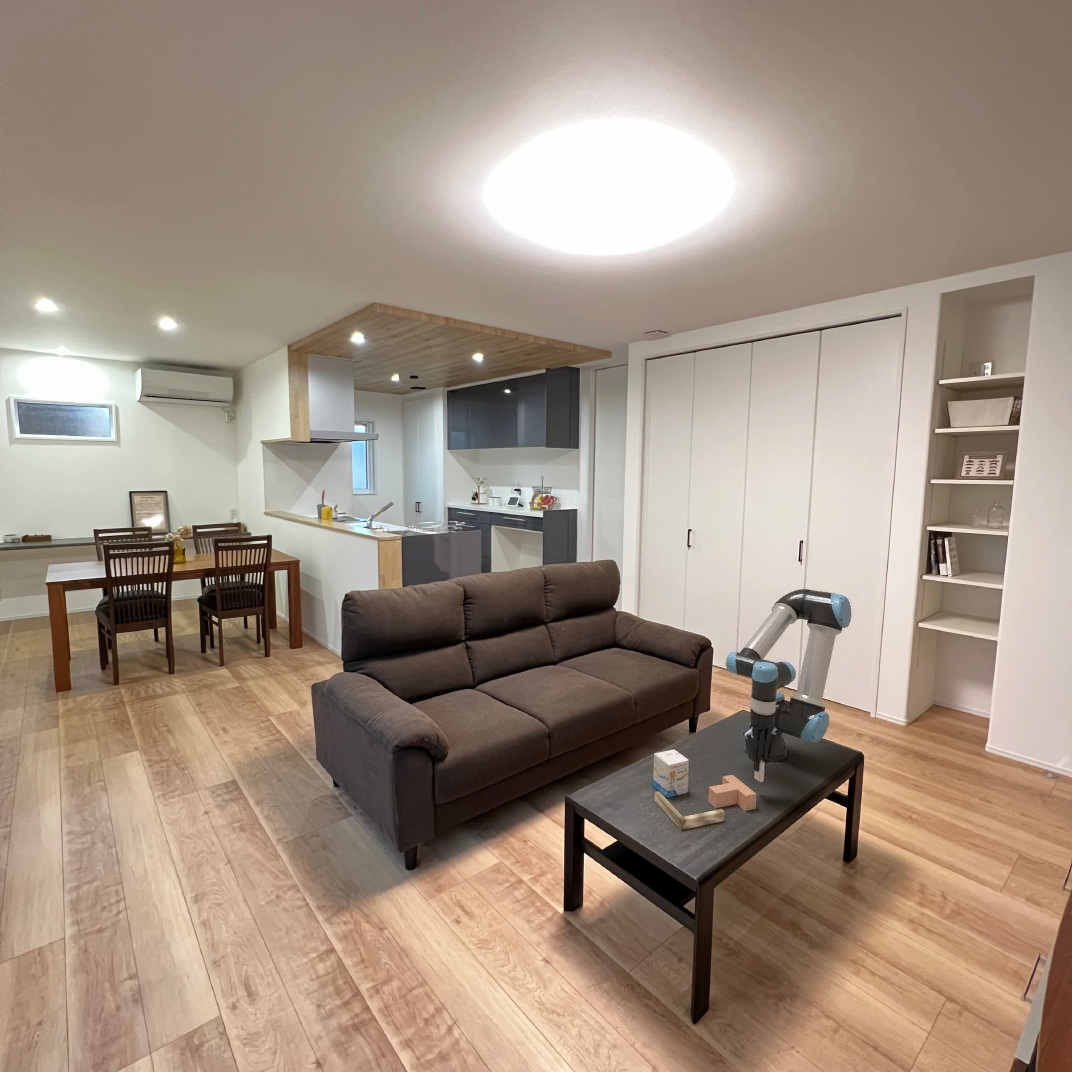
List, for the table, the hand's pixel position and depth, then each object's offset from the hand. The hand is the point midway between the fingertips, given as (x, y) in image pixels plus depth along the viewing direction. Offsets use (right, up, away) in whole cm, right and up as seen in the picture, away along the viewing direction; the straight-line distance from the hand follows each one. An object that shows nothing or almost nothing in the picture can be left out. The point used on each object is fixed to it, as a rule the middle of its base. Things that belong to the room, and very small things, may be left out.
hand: (758, 779), depth 187 cm
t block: (-11, -6, -3) cm, 13 cm away
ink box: (-28, -5, +5) cm, 29 cm away
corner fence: (-25, -6, -8) cm, 27 cm away
